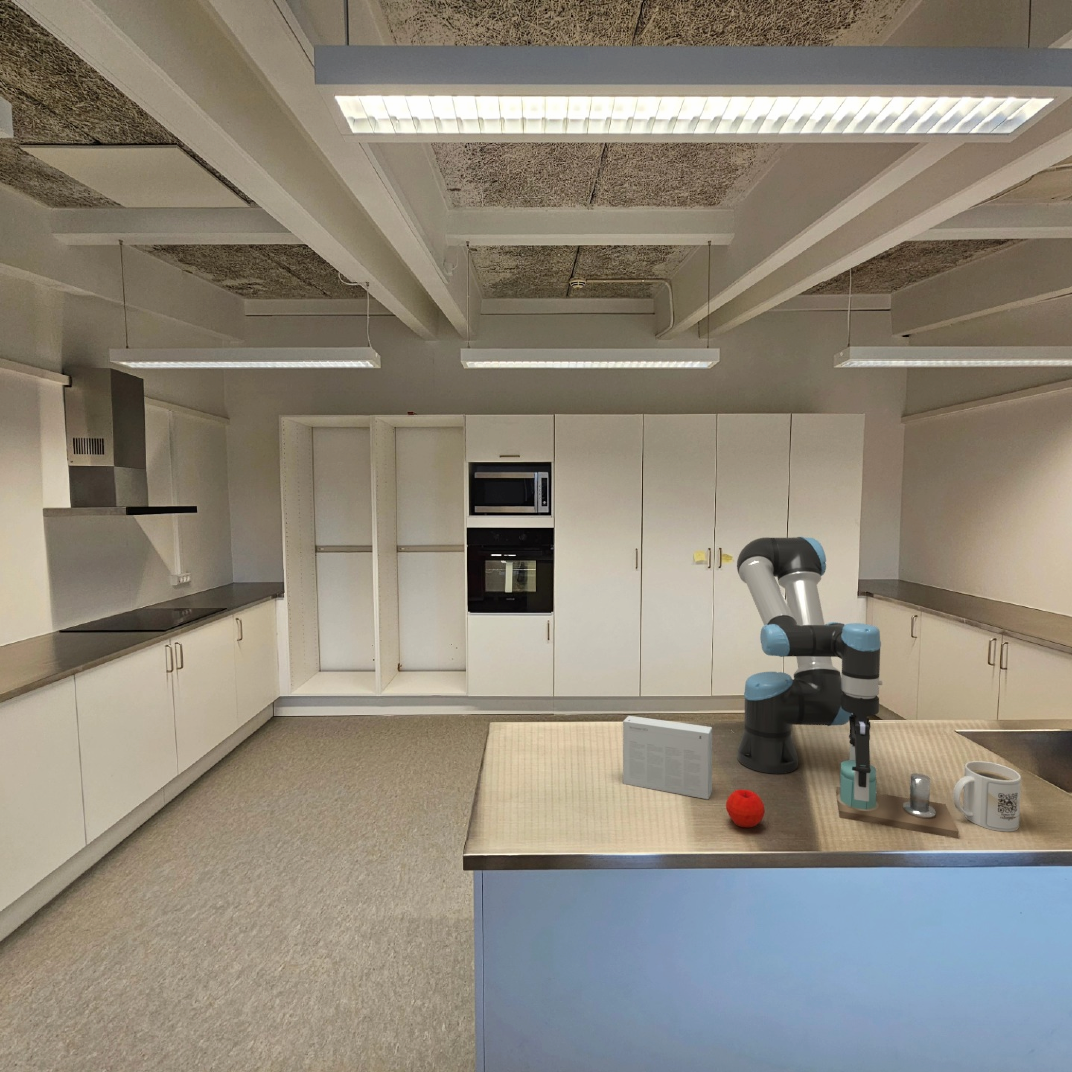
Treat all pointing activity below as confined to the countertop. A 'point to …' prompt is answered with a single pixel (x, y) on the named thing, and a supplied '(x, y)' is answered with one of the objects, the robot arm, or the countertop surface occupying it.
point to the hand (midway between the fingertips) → (858, 786)
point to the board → (900, 815)
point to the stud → (919, 798)
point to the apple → (745, 808)
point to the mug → (990, 795)
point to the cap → (848, 786)
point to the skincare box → (667, 756)
